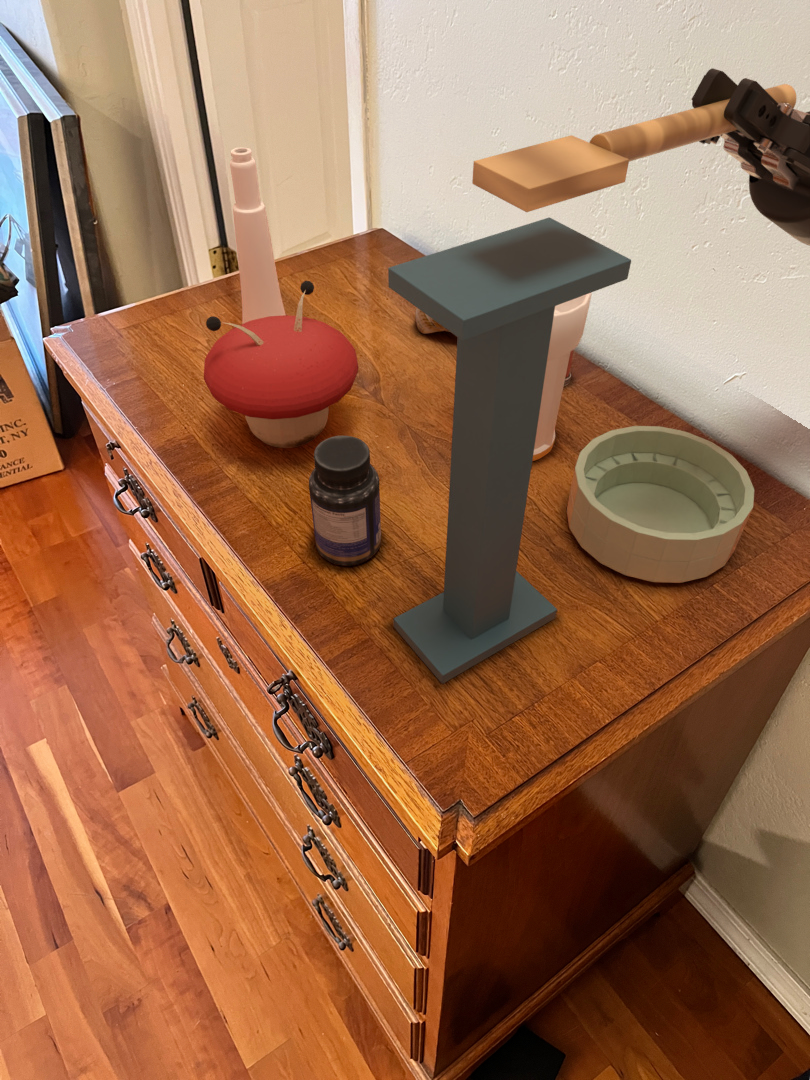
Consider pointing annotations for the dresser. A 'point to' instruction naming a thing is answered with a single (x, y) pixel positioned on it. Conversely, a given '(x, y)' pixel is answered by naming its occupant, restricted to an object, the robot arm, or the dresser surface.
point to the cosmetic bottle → (253, 242)
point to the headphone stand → (494, 423)
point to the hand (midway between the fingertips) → (721, 92)
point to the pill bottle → (345, 501)
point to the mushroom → (281, 374)
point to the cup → (559, 367)
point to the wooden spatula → (598, 155)
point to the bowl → (658, 503)
